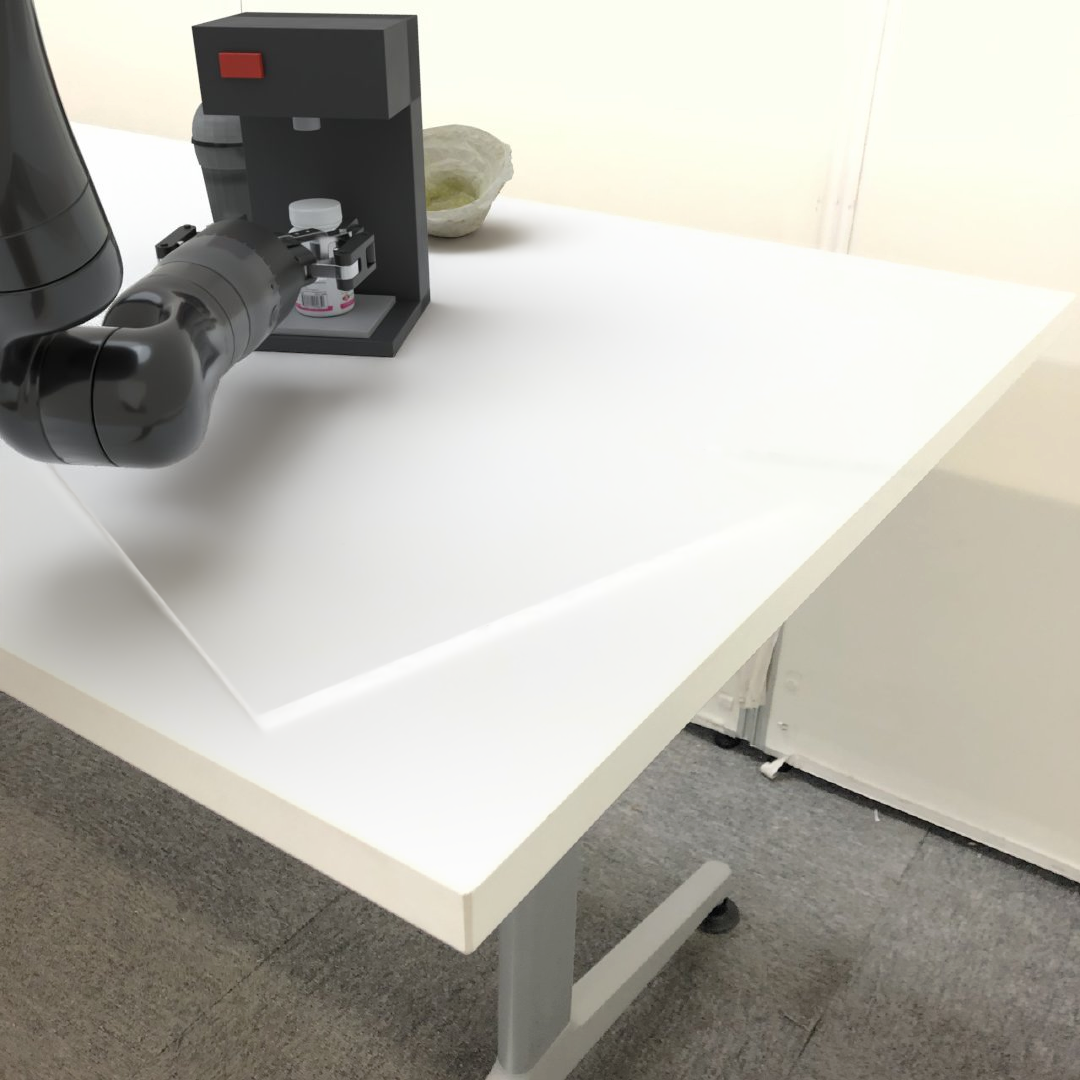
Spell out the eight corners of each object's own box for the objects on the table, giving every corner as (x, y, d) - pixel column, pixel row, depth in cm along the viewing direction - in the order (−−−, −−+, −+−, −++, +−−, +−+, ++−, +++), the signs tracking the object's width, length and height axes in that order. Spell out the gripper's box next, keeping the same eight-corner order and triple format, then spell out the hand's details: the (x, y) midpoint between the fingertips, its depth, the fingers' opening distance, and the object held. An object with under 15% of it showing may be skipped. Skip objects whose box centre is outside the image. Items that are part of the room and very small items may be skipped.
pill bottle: (338, 295, 94) (328, 193, 90) (365, 310, 91) (357, 205, 87) (285, 306, 92) (273, 202, 88) (311, 322, 89) (300, 214, 84)
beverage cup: (232, 278, 105) (200, 45, 95) (195, 262, 109) (161, 38, 99) (300, 263, 109) (276, 39, 99) (261, 248, 113) (235, 32, 103)
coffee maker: (430, 300, 99) (417, 14, 88) (393, 357, 87) (372, 33, 76) (277, 294, 101) (244, 11, 89) (220, 348, 89) (173, 30, 77)
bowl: (354, 247, 114) (345, 144, 109) (401, 214, 126) (395, 120, 121) (496, 257, 111) (494, 152, 106) (530, 222, 123) (530, 126, 118)
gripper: (325, 240, 68) (388, 181, 82) (101, 231, 69) (200, 175, 83) (336, 357, 72) (394, 282, 86) (123, 347, 73) (214, 274, 87)
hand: (298, 229), depth 85 cm, fingers open, 8 cm apart
